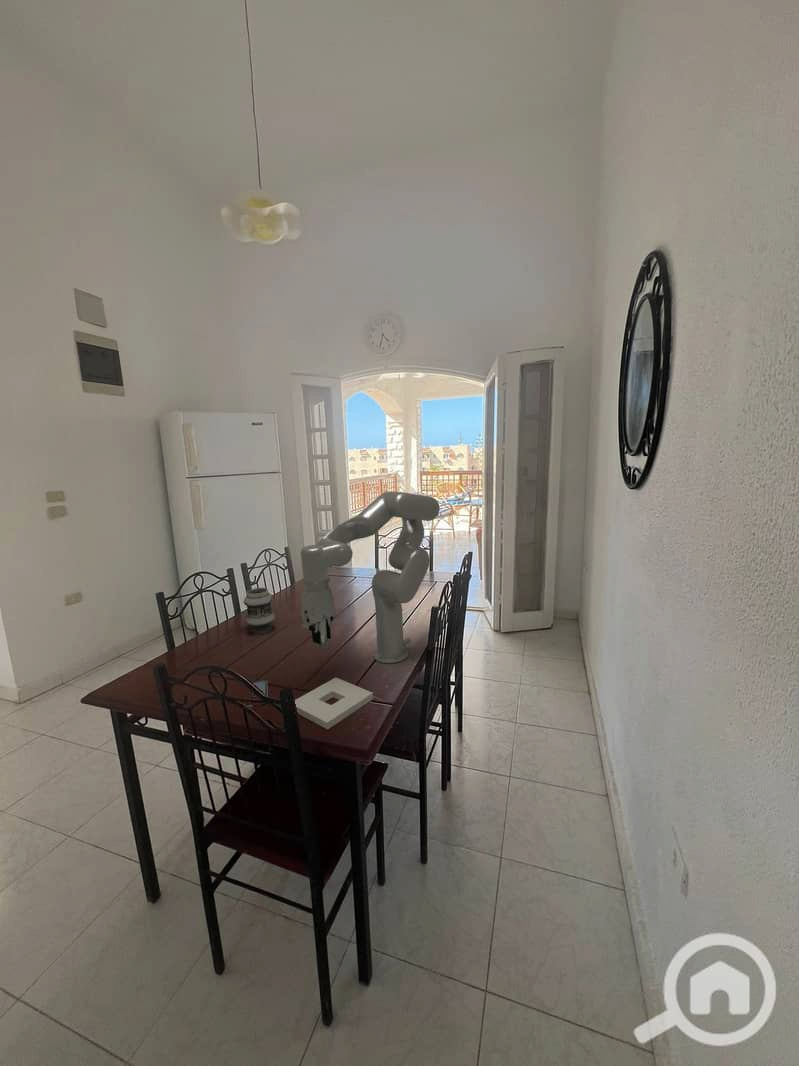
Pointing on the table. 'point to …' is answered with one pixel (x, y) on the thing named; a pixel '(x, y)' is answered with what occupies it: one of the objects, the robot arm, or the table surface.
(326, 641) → the peg
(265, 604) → the apothecary jar
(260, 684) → the smartphone
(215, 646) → the table surface
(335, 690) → the socket plate
